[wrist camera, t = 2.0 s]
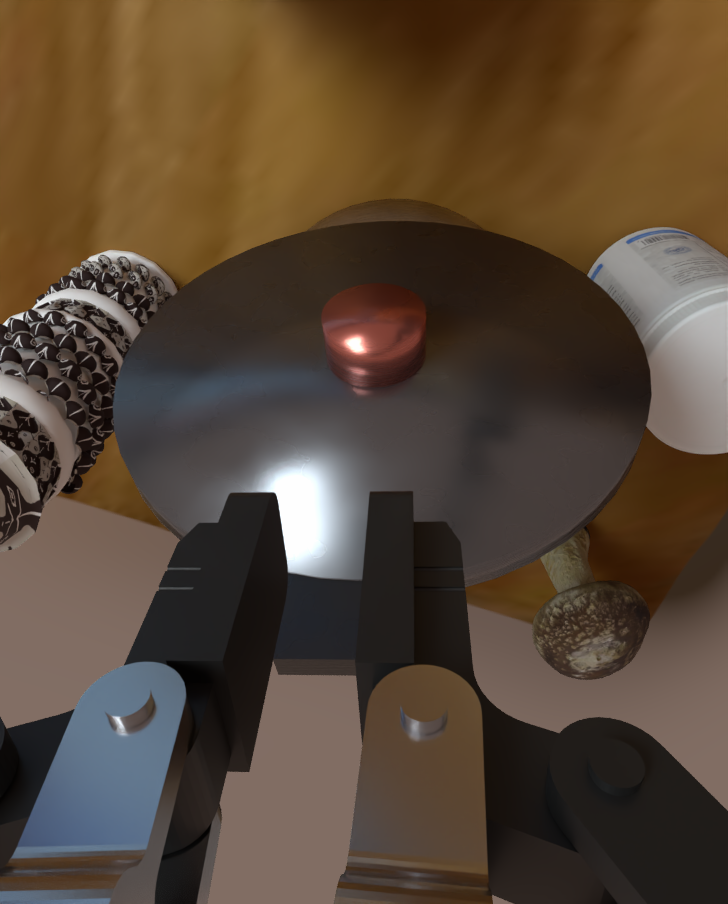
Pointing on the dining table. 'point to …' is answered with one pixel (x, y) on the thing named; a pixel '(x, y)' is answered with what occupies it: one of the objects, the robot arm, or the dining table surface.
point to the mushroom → (587, 616)
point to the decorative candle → (67, 380)
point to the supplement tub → (676, 330)
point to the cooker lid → (384, 404)
